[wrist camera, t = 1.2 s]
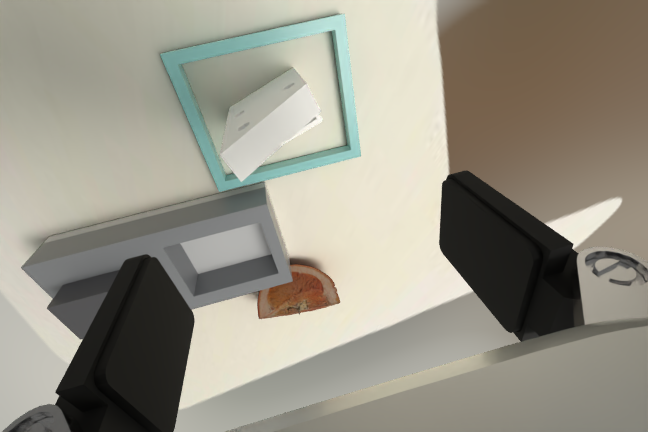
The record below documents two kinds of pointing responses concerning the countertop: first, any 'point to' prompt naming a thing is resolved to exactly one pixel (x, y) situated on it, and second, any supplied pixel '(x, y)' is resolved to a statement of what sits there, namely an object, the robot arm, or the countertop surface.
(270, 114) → the white angled block
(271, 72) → the countertop surface
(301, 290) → the fruit slice
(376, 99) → the countertop surface
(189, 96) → the tray frame
